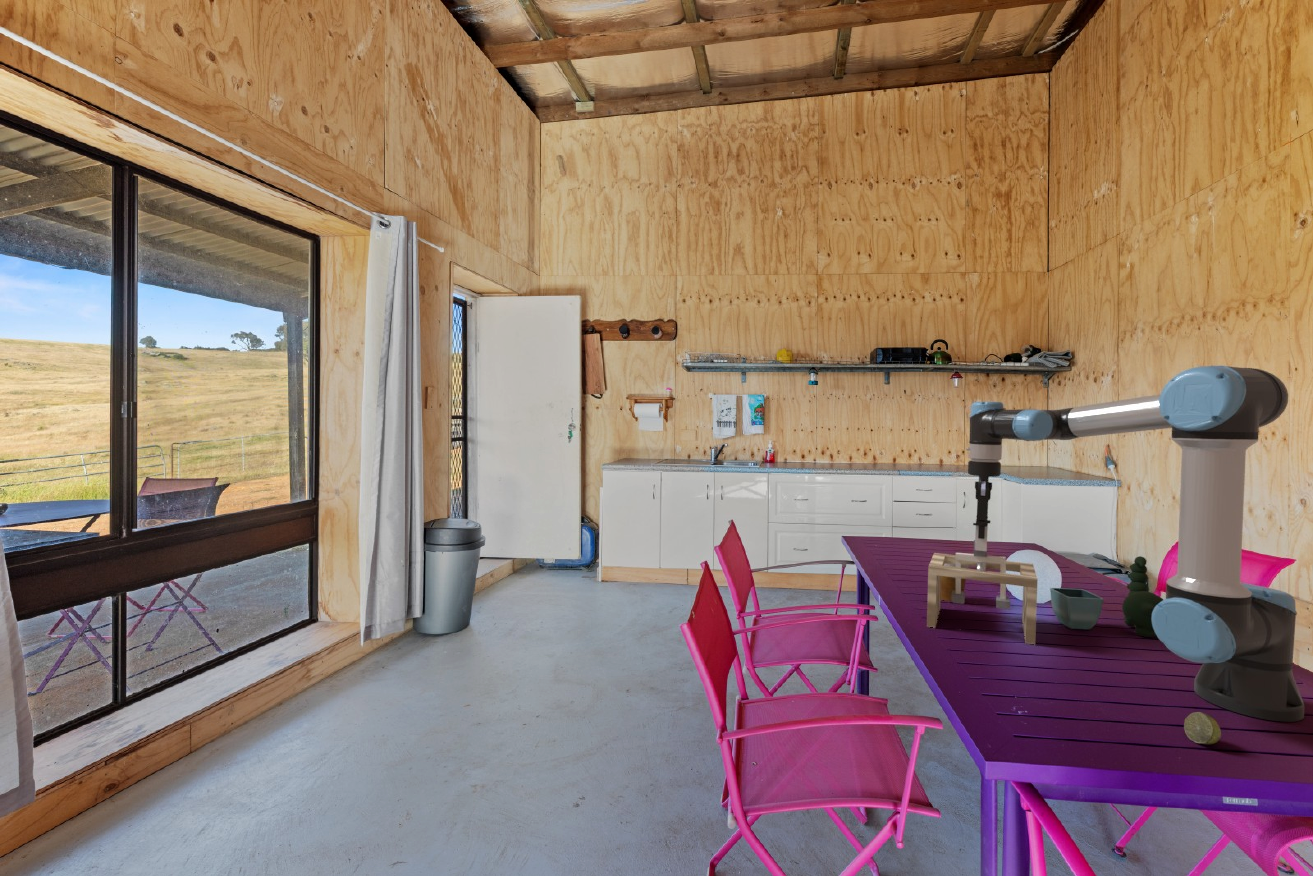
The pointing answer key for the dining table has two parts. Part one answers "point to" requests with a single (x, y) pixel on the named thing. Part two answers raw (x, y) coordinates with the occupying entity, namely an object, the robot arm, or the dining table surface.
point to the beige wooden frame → (1024, 579)
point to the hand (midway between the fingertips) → (980, 548)
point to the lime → (1202, 728)
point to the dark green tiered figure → (1140, 600)
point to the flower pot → (1076, 607)
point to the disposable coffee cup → (950, 584)
